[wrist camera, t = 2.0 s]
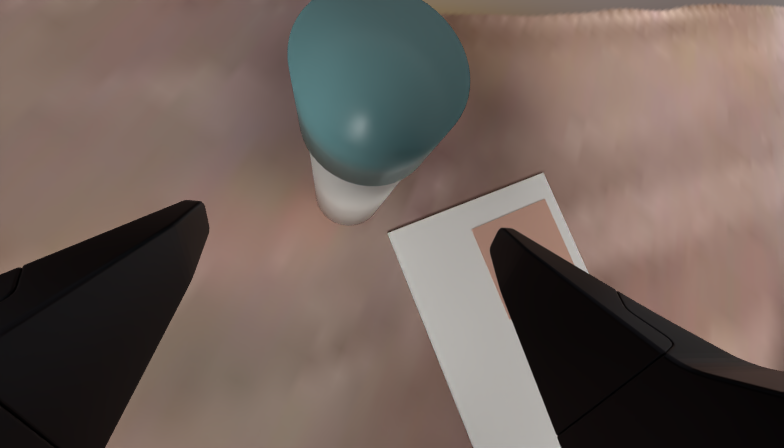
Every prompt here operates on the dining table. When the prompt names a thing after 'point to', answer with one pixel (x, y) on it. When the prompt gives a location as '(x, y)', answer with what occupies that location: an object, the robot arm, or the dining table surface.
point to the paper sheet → (483, 308)
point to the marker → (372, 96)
